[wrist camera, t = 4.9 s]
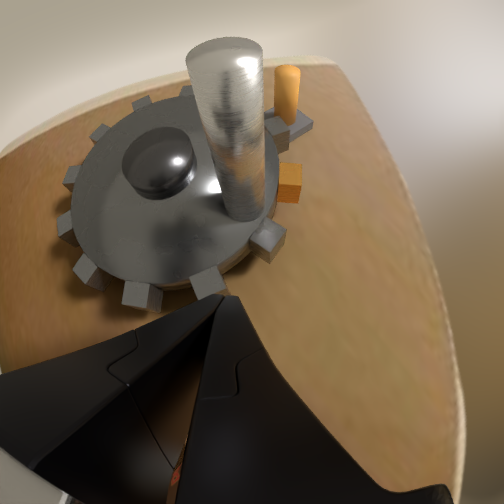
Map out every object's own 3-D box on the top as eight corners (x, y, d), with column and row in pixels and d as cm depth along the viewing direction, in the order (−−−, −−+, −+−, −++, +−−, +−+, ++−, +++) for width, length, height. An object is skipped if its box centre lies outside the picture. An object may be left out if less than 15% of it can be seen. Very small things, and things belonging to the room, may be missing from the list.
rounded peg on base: (283, 146, 19) (287, 90, 14) (256, 124, 20) (253, 69, 15) (312, 128, 20) (321, 74, 15) (285, 107, 21) (287, 55, 16)
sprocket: (291, 326, 14) (356, 283, 4) (51, 292, 15) (-76, 235, 5) (298, 106, 19) (309, -24, 9) (113, 112, 20) (62, 17, 10)
